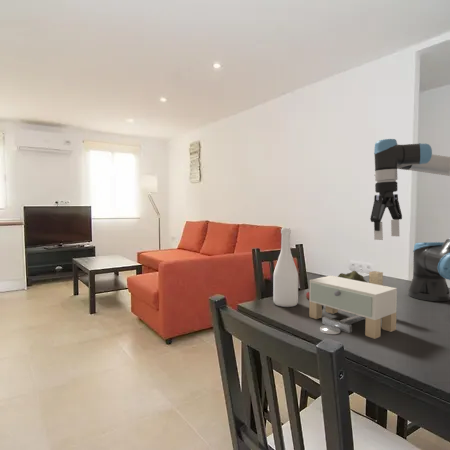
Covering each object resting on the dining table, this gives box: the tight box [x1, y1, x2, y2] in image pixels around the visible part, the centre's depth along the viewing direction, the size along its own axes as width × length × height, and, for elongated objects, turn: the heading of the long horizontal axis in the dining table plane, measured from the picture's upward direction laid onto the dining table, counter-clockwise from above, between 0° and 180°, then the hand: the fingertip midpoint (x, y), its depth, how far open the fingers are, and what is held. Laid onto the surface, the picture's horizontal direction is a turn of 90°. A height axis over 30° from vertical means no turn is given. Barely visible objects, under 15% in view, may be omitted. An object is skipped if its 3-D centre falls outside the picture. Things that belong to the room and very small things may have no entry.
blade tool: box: [321, 270, 384, 334], centre depth 112 cm, size 26×10×15 cm, turn 126°
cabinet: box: [308, 275, 398, 340], centre depth 109 cm, size 14×24×13 cm, turn 36°
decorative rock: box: [337, 270, 367, 282], centre depth 145 cm, size 15×16×10 cm
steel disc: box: [319, 324, 341, 335], centre depth 103 cm, size 6×6×1 cm
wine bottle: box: [272, 227, 299, 308], centre depth 130 cm, size 10×10×30 cm
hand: (387, 238), depth 126 cm, fingers open, 13 cm apart
